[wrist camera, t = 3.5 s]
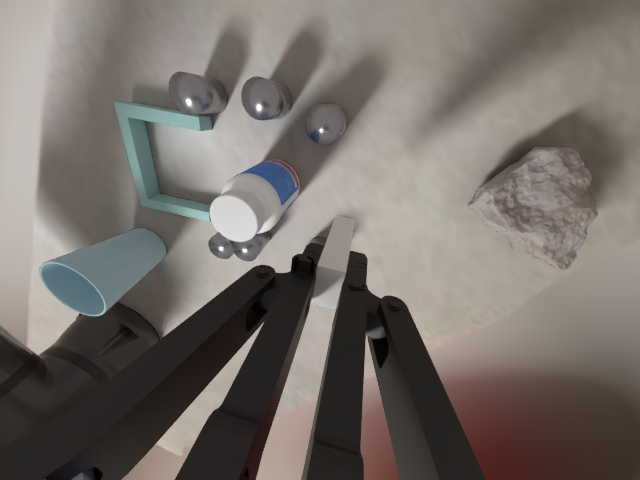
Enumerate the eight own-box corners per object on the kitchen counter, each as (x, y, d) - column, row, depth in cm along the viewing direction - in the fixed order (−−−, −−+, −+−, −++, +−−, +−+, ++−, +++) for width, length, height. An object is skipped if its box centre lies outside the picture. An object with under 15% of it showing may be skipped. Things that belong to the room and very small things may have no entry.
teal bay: (153, 200, 31) (140, 206, 29) (130, 102, 25) (113, 101, 23) (219, 215, 30) (209, 221, 28) (211, 116, 24) (198, 117, 22)
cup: (140, 265, 37) (66, 314, 28) (115, 220, 34) (23, 261, 25) (181, 266, 36) (117, 319, 27) (160, 220, 32) (78, 262, 23)
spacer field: (213, 236, 32) (194, 251, 28) (196, 68, 22) (164, 61, 19) (329, 263, 30) (324, 283, 27) (363, 95, 21) (361, 93, 17)
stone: (549, 125, 19) (613, 132, 14) (588, 214, 22) (653, 246, 17) (452, 185, 23) (476, 207, 18) (496, 255, 26) (527, 291, 21)
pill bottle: (255, 153, 25) (197, 175, 17) (304, 164, 25) (269, 193, 16) (253, 200, 28) (202, 239, 20) (297, 211, 28) (264, 256, 19)
